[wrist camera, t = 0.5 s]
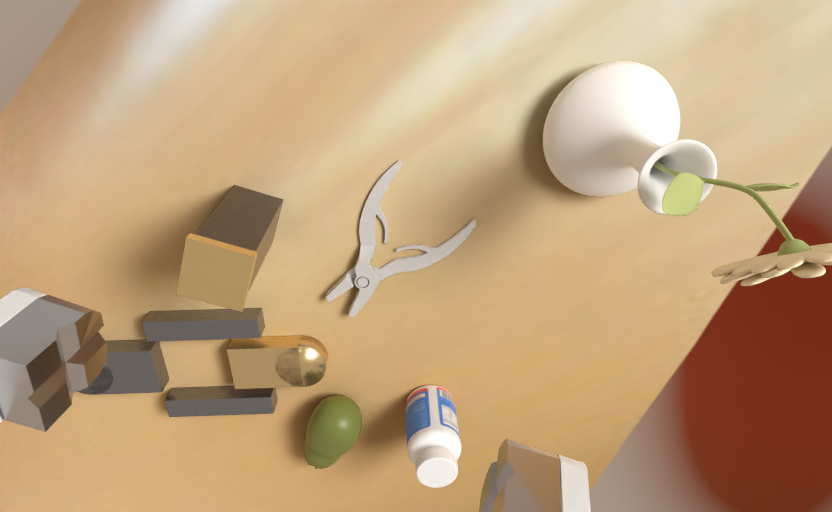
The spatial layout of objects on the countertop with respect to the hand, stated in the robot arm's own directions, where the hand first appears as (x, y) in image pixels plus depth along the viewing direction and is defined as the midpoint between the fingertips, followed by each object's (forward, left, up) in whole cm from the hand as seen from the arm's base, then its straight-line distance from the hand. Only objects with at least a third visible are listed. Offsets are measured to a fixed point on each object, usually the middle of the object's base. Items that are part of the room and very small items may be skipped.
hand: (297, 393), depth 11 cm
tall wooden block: (+11, -12, -38) cm, 41 cm away
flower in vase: (+4, +20, -38) cm, 44 cm away
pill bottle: (+34, +4, -38) cm, 52 cm away
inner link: (+27, -11, -38) cm, 48 cm away
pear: (+36, -7, -38) cm, 53 cm away
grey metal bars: (+27, -23, -38) cm, 52 cm away
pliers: (+15, 0, -39) cm, 41 cm away
